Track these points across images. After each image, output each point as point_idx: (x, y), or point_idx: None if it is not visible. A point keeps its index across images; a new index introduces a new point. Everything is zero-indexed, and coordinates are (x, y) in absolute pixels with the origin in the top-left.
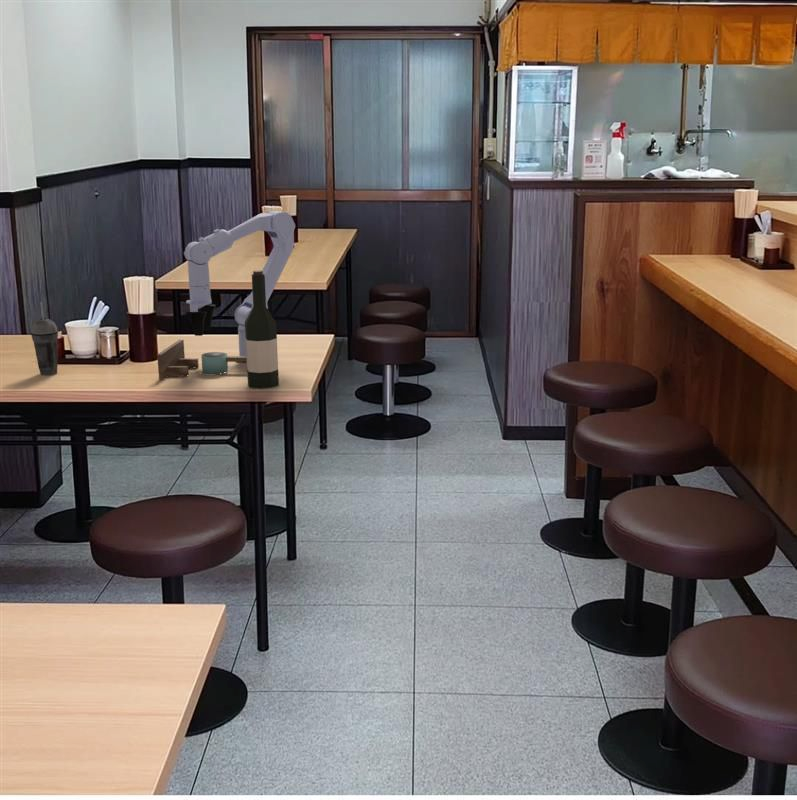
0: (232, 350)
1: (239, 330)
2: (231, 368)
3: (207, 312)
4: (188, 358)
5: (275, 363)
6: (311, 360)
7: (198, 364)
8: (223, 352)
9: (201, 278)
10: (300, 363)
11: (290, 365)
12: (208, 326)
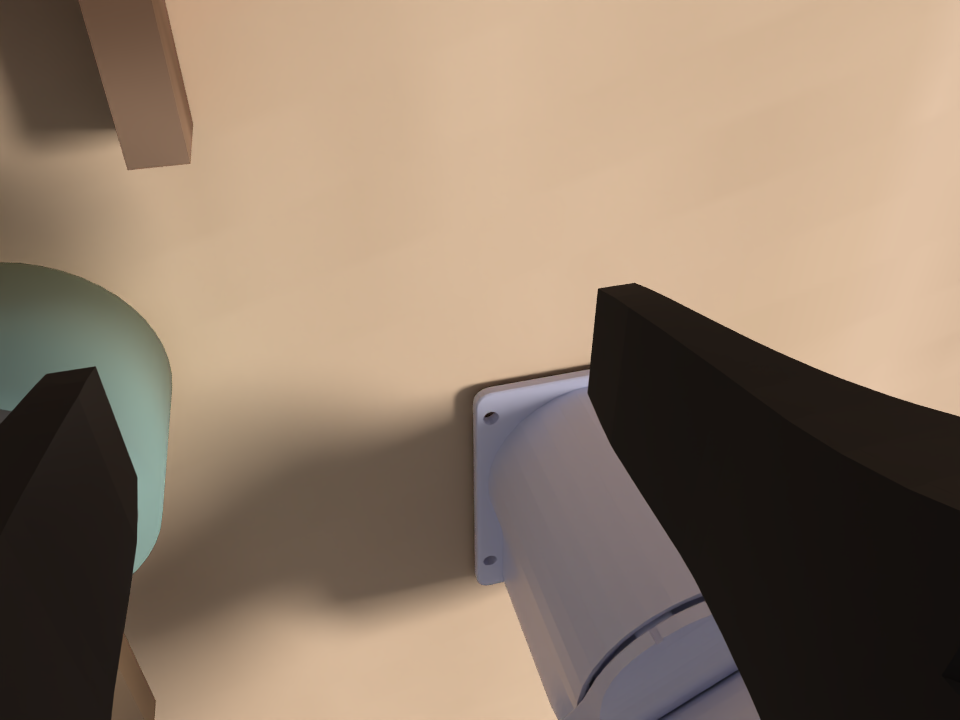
0: (949, 179)
1: (637, 639)
2: (227, 447)
3: (785, 656)
4: (154, 15)
5: None
6: (541, 717)
7: (191, 135)
8: (146, 548)
9: None
10: (462, 711)
11: (403, 698)
12: (619, 430)
